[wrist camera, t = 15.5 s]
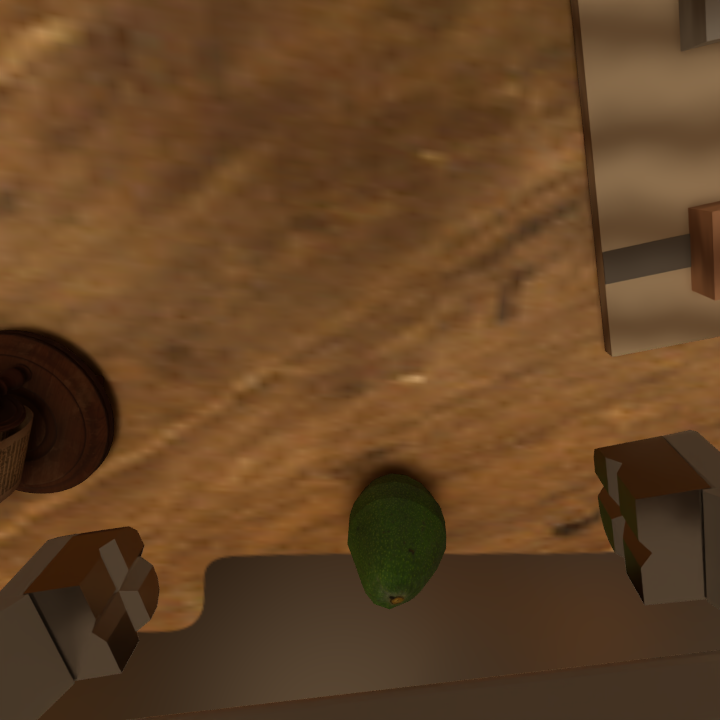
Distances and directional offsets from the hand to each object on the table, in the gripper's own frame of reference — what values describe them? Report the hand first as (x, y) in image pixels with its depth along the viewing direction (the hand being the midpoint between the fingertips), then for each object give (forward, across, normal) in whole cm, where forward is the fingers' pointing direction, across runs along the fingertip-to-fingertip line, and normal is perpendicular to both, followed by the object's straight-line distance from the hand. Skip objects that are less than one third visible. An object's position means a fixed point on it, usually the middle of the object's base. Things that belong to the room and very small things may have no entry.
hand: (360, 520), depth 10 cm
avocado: (+35, +4, +22) cm, 42 cm away
